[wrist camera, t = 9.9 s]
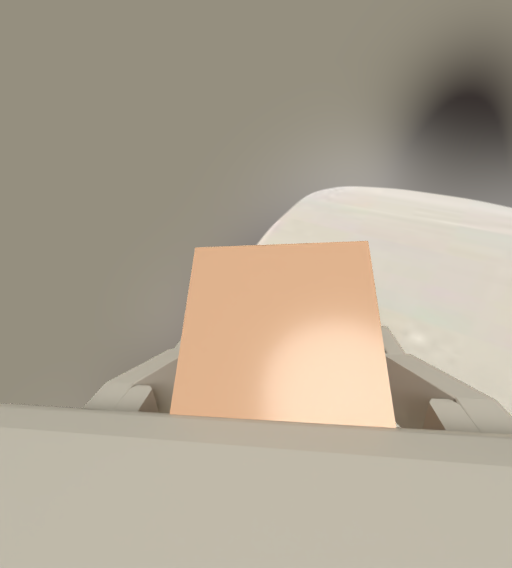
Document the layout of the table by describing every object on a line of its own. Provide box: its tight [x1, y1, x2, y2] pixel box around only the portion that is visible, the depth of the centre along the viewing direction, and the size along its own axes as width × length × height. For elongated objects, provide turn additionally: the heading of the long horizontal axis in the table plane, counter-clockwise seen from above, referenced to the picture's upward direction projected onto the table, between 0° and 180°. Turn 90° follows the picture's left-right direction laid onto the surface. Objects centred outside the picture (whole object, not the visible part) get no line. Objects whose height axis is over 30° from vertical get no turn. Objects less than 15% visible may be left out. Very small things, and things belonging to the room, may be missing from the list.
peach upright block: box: [170, 241, 396, 428], centre depth 10 cm, size 4×4×10 cm
